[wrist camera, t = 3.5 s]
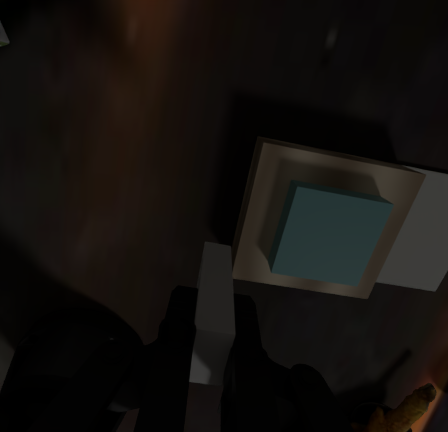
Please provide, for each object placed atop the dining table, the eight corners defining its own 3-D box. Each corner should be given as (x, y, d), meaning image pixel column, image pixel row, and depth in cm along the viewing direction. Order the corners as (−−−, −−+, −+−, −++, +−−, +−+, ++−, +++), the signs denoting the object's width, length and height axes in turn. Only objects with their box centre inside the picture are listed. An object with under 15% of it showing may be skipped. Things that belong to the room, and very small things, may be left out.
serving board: (229, 256, 31) (230, 277, 27) (257, 136, 26) (263, 142, 22) (350, 275, 32) (367, 299, 29) (398, 164, 27) (426, 174, 24)
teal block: (267, 260, 27) (271, 272, 25) (291, 179, 24) (297, 186, 22) (347, 273, 27) (357, 286, 25) (381, 196, 24) (394, 204, 22)
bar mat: (352, 276, 32) (353, 278, 32) (400, 164, 27) (403, 165, 27) (432, 289, 33) (435, 291, 33) (493, 183, 28) (497, 184, 28)
